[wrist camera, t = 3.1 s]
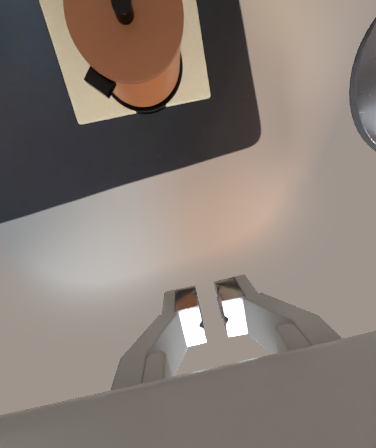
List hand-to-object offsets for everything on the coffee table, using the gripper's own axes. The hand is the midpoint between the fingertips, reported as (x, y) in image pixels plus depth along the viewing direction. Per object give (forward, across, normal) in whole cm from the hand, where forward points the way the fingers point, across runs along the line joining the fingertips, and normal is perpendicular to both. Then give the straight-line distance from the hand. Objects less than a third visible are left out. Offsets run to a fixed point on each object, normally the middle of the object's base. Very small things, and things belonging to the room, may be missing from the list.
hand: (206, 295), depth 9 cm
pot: (+26, -2, +24) cm, 35 cm away
